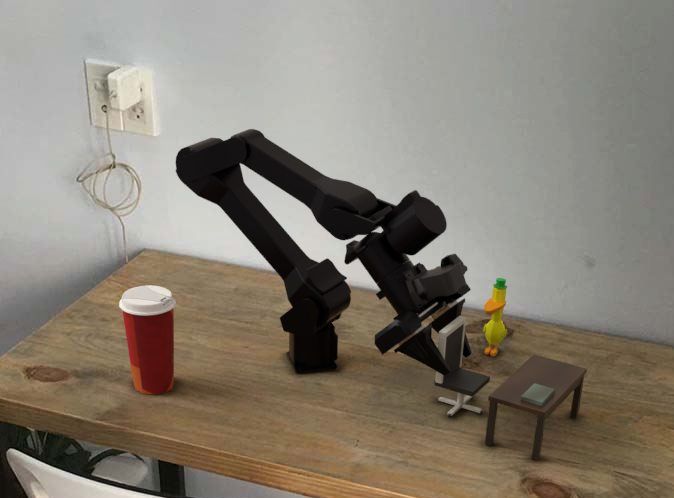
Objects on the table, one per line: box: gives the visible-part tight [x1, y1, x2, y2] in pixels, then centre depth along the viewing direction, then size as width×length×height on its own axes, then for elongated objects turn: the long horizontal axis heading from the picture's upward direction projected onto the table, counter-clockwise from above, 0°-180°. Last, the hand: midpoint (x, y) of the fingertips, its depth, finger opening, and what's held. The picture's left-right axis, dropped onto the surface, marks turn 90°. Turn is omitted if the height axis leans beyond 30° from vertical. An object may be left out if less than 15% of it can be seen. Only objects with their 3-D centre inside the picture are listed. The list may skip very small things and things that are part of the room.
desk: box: [484, 353, 588, 462], centre depth 153 cm, size 8×15×8 cm, turn 150°
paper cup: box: [118, 284, 177, 395], centre depth 157 cm, size 8×8×14 cm
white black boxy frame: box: [433, 315, 491, 418], centre depth 156 cm, size 7×7×12 cm
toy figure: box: [482, 277, 508, 357], centre depth 171 cm, size 7×4×12 cm, turn 151°
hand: (458, 364), depth 156 cm, fingers closed on white black boxy frame, 6 cm apart
